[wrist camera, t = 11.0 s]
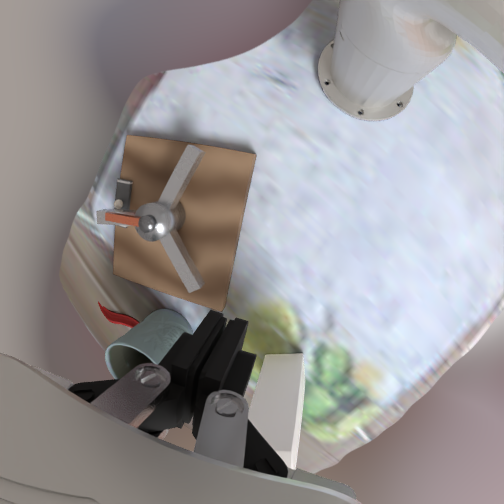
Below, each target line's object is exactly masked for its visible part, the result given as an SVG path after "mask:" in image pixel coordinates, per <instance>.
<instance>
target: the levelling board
mask: <svg viewBox="0 0 504 504" xmlns="http://www.w3.org/2000/svg"><path fill="white" fill-rule="evenodd" d="M187 145H194V146H196V147H197V148H199V149H201V150H202V151H204V152H206V153H205V155H204V157H203V158H202V160H201V162H200V164H199V165H198V167H197V169H196V171H195V172H194V174H193V176H192V178H191V180H190V181H189V183H188V185H187V187H186V189H185V191H184V193H183V194H182V196H181V198H180V200H179V202H180V203H181V204H182V206H183V207H184V210H185V214H186V218H185V223H184V225H183V226H182V227H181V228H180V229H179V230H177V232H178V234H179V236H180V238H181V240H182V242H183V244H184V245H185V247H186V249H187V251H188V253H189V255H190V256H191V258H192V260H193V262H194V264H195V266H196V267H197V269H198V271H199V273H200V275H201V276H202V278H203V280H204V282H205V284H204V285H203V286H202V287H201V288H200V289H198V290H195V291H193V292H191V293H189V292H188V290H187V289H186V287H185V285H184V283H183V282H182V280H181V278H180V276H179V275H178V273H177V271H176V269H175V267H174V266H173V264H172V262H171V260H170V258H169V256H168V255H167V253H166V251H165V249H164V247H163V245H162V244H161V242H160V240H157V241H154V242H150V241H146V240H144V239H143V238H141V237H140V236H139V234H138V233H137V231H136V229H135V226H128V227H127V228H123V227H119V226H116V225H115V239H114V262H113V274H114V275H116V276H119V277H122V278H124V279H127V280H130V281H132V282H135V283H138V284H141V285H143V286H146V287H149V288H152V289H155V290H157V291H160V292H163V293H166V294H169V295H172V296H175V297H178V298H181V299H184V300H187V301H190V302H193V303H196V304H199V305H202V306H205V307H208V308H212V309H215V310H218V311H221V312H222V311H223V309H224V307H225V304H226V299H227V294H228V289H229V284H230V279H231V274H232V269H233V264H234V259H235V254H236V249H237V245H238V240H239V235H240V230H241V225H242V221H243V216H244V211H245V206H246V202H247V197H248V192H249V188H250V183H251V178H252V174H253V169H254V164H255V160H256V154H251V153H246V152H241V151H236V150H230V149H225V148H219V147H214V146H208V145H202V144H195V143H189V142H182V141H175V140H167V139H159V138H151V137H142V136H132V135H127V137H126V143H125V149H124V155H123V162H122V169H121V176H120V179H126V180H131V181H133V184H132V191H131V200H130V209H129V210H138V208H139V207H140V206H142V205H144V204H147V203H151V202H155V201H159V199H160V196H161V194H162V192H163V190H164V188H165V186H166V185H167V183H168V181H169V179H170V177H171V175H172V173H173V171H174V169H175V167H176V165H177V164H178V162H179V160H180V158H181V156H182V154H183V152H184V151H185V149H186V147H187Z"/></svg>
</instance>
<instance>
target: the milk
mask: <svg viewBox="0 0 504 504" xmlns="http://www.w3.org/2000/svg"><path fill="white" fill-rule="evenodd" d="M304 391H305V370H304V357H303V353H295V354H266V355H265V357H264V361H263V364H262V368H261V371H260V375H259V378H258V381H257V385H256V388H255V391H254V395H253V398H252V401H251V405H250V408H249V411H248V419H249V420H250V422H251V423H252V424H253V425H254V427H255V428H256V429H257V430H258V431H259V433H260V434H261V435H262V436H263V438H264V439H265V440H266V441H267V442H268V444H269V445H270V446H271V447H272V448H273V449H274V451H275V452H276V453H277V454H278V455H279V456H280V457H281V459H282V460H283V461H284V462H285V464H286V465H287V467H288V468H291V469H294V470H295V468H296V461H297V454H298V446H299V438H300V429H301V420H302V411H303V401H304Z"/></svg>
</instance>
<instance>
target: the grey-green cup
mask: <svg viewBox="0 0 504 504" xmlns="http://www.w3.org/2000/svg"><path fill="white" fill-rule="evenodd" d="M184 332H187V333H189V334H192V335H193V331H192V329H191V326H190V325H189V323H188V322H187V320H186V319H185V318H184V317H183V316H182V315H180V314H179V313H177V312H175V311H173V310H170V309H159V310H156V311H154V312H152V313H151V314H150V315H148V316H147V317H146V318H145V319H144V321H142V322H140V323H138V324H137V325H136V326H134V327H133V328H132V329H131V330H130V331H128V332H127V333H126V334H125V335H123V336H122V337H120V338H118V339H117V340H116V341H114V342H113V343H111V344H110V345H109V346H108V348H107V349H106V352H105V360H106V364H107V367H108V369H109V371H110V373H111V374H112V376H113V377H114V378H115V379H121V378H122V377H124V376H125V375H126V374H127V373H128V372H130V371H131V370H132V369H133V368H135V367H136V366H138V365H140V364H144V363H153V364H159V363H160V361H161V360H162V359H163V358H164V356H165V355H166V354H167V352H168V351H169V350H170V349H171V347H172V346H173V345H174V344H175V342H176V341H177V340H178V338H179V337H180V336H181V335H182V334H183V333H184Z"/></svg>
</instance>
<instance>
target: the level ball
mask: <svg viewBox="0 0 504 504" xmlns="http://www.w3.org/2000/svg"><path fill="white" fill-rule="evenodd" d="M114 207H115V208H116V209H121V208H122V207H123V202H122V200H120V199H118V200H116V201H115V202H114Z"/></svg>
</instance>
